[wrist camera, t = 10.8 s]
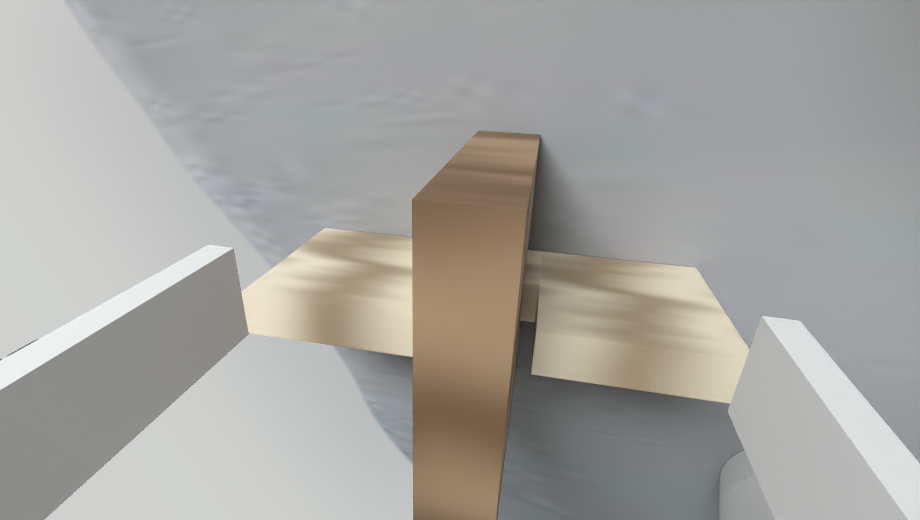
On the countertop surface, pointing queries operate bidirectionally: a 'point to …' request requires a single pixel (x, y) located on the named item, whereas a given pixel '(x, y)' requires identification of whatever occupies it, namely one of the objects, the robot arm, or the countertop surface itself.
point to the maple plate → (543, 301)
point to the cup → (741, 492)
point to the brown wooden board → (468, 321)
